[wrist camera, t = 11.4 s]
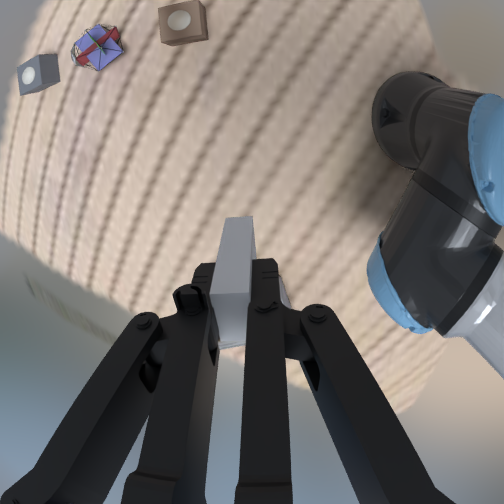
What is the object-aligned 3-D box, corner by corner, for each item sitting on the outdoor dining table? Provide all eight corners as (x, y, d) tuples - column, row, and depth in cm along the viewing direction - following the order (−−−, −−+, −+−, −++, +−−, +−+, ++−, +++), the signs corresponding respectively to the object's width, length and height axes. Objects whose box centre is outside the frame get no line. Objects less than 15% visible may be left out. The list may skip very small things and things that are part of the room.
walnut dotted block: (205, 8, 29) (197, -1, 25) (208, 39, 32) (201, 34, 27) (169, 15, 29) (157, 7, 25) (172, 46, 32) (160, 42, 28)
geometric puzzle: (116, 7, 26) (67, 27, 22) (142, 35, 29) (94, 58, 25) (101, 38, 32) (58, 60, 28) (125, 64, 35) (82, 89, 31)
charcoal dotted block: (57, 54, 30) (37, 54, 26) (60, 81, 33) (41, 84, 29) (35, 65, 31) (16, 67, 26) (39, 91, 33) (19, 95, 29)
